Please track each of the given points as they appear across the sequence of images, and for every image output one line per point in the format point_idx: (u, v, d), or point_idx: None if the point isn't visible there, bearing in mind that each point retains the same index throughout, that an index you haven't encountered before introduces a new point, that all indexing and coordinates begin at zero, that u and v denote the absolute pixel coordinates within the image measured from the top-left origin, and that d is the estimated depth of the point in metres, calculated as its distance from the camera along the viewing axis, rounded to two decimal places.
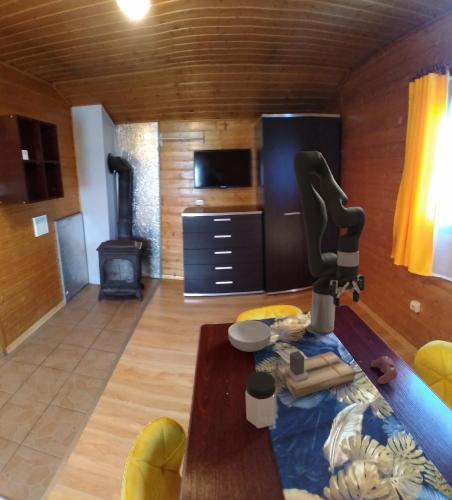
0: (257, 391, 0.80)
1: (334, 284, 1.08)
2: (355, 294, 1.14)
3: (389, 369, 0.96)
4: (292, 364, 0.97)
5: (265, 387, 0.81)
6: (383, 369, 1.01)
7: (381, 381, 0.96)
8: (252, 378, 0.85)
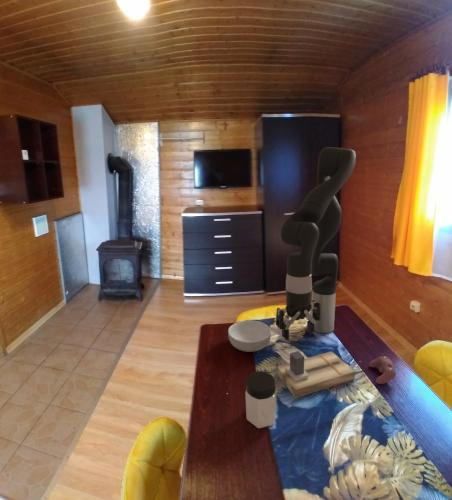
0: (257, 391, 0.80)
1: (281, 314, 0.89)
2: (309, 324, 0.95)
3: (387, 369, 0.96)
4: (292, 364, 0.97)
5: (265, 387, 0.81)
6: (381, 369, 1.01)
7: (379, 381, 0.96)
8: (252, 378, 0.85)
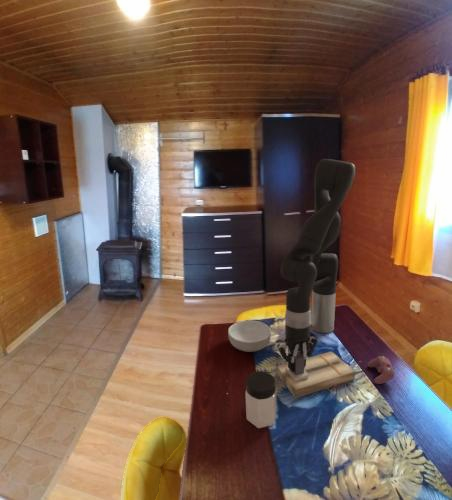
0: (257, 391, 0.80)
1: (282, 351, 0.93)
2: None
3: (386, 369, 0.96)
4: None
5: (265, 387, 0.81)
6: (380, 369, 1.01)
7: (378, 381, 0.96)
8: (252, 378, 0.85)
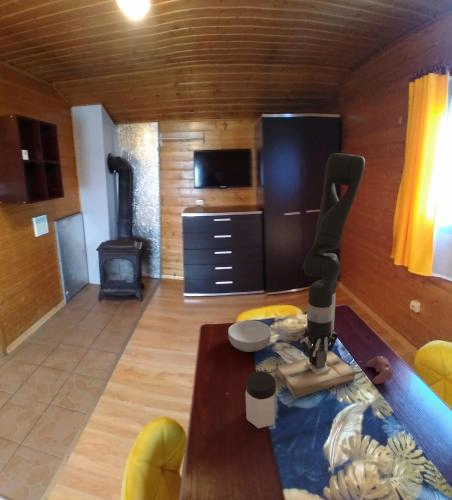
0: (257, 391, 0.80)
1: (304, 345, 0.95)
2: None
3: (384, 369, 0.96)
4: None
5: (265, 387, 0.81)
6: (378, 369, 1.01)
7: (376, 381, 0.96)
8: (252, 378, 0.85)
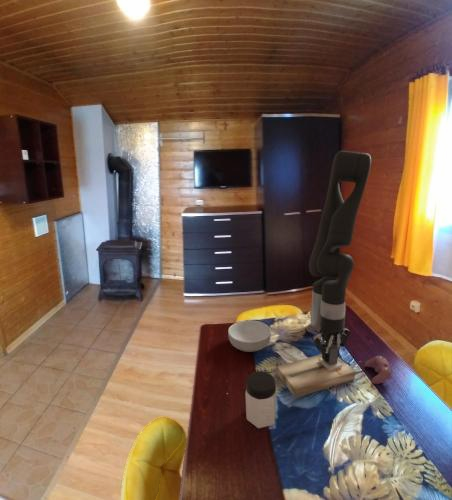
0: (257, 391, 0.80)
1: (318, 342, 0.96)
2: None
3: (383, 369, 0.96)
4: None
5: (265, 387, 0.81)
6: (377, 369, 1.01)
7: (375, 381, 0.96)
8: (252, 378, 0.85)
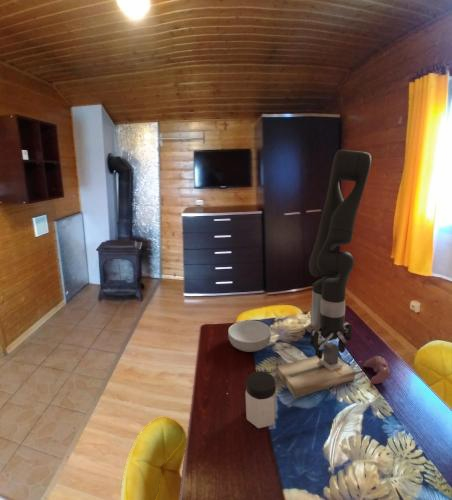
0: (257, 391, 0.80)
1: (316, 336, 0.96)
2: (340, 344, 1.02)
3: (382, 369, 0.96)
4: (327, 355, 1.01)
5: (265, 387, 0.81)
6: (376, 369, 1.01)
7: (374, 381, 0.96)
8: (252, 378, 0.85)
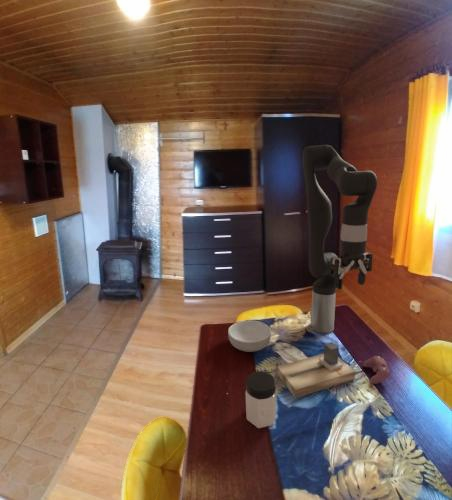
0: (257, 391, 0.80)
1: (337, 263, 0.92)
2: (361, 275, 0.98)
3: (381, 369, 0.96)
4: (327, 355, 1.01)
5: (265, 387, 0.81)
6: (375, 369, 1.01)
7: (373, 381, 0.96)
8: (252, 378, 0.85)
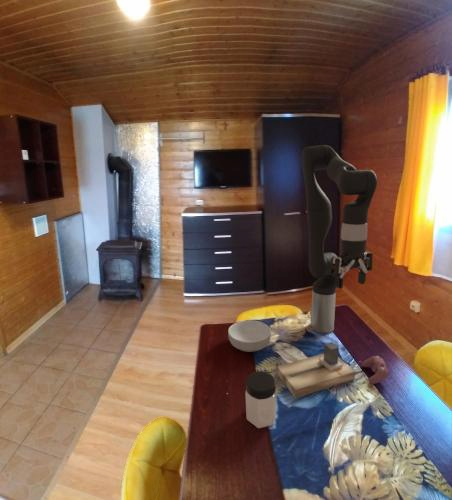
0: (257, 391, 0.80)
1: (337, 262, 0.92)
2: (361, 274, 0.98)
3: (380, 369, 0.96)
4: (327, 355, 1.01)
5: (265, 387, 0.81)
6: (374, 369, 1.01)
7: (372, 381, 0.96)
8: (252, 378, 0.85)
